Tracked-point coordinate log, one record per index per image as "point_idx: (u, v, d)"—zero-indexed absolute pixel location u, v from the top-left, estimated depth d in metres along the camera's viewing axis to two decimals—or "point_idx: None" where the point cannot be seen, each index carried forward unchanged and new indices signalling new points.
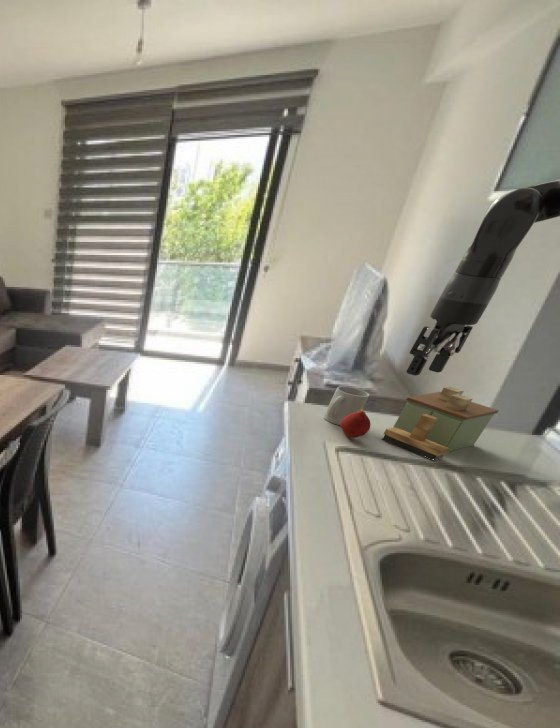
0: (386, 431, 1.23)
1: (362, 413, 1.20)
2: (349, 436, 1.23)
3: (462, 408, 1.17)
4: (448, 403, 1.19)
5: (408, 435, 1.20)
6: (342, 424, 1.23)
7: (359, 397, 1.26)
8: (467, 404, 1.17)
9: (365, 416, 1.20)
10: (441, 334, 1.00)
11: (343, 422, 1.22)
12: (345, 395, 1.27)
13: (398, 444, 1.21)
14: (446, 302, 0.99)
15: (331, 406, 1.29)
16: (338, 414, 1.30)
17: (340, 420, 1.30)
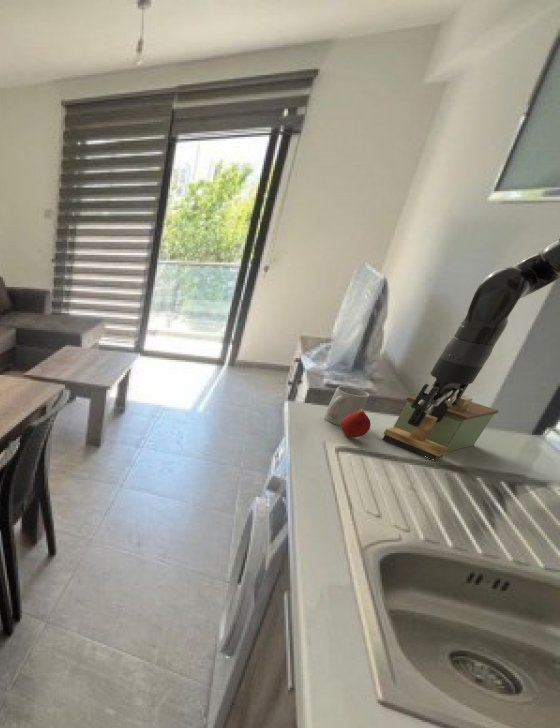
0: (386, 431, 1.23)
1: (362, 413, 1.20)
2: (349, 436, 1.23)
3: (462, 408, 1.17)
4: None
5: (408, 435, 1.20)
6: (342, 424, 1.23)
7: (359, 397, 1.26)
8: (467, 404, 1.17)
9: (365, 416, 1.20)
10: (440, 391, 1.10)
11: (343, 422, 1.22)
12: (345, 395, 1.27)
13: (398, 444, 1.21)
14: (445, 363, 1.09)
15: (331, 406, 1.29)
16: (338, 414, 1.30)
17: (340, 420, 1.30)
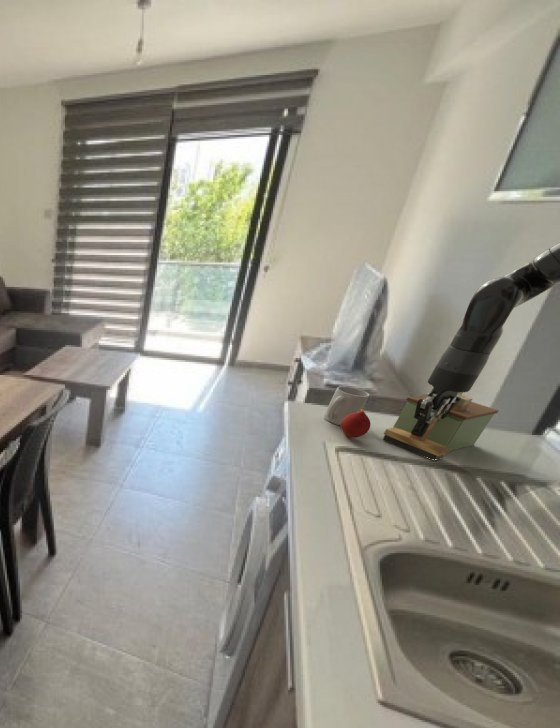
0: (386, 431, 1.23)
1: (362, 413, 1.20)
2: (349, 436, 1.23)
3: (462, 408, 1.17)
4: None
5: (408, 435, 1.20)
6: (342, 424, 1.23)
7: (359, 397, 1.26)
8: (467, 404, 1.17)
9: (365, 416, 1.20)
10: (437, 399, 1.11)
11: (343, 422, 1.22)
12: (345, 395, 1.27)
13: (398, 444, 1.21)
14: (441, 371, 1.10)
15: (331, 406, 1.29)
16: (338, 414, 1.30)
17: (340, 420, 1.30)
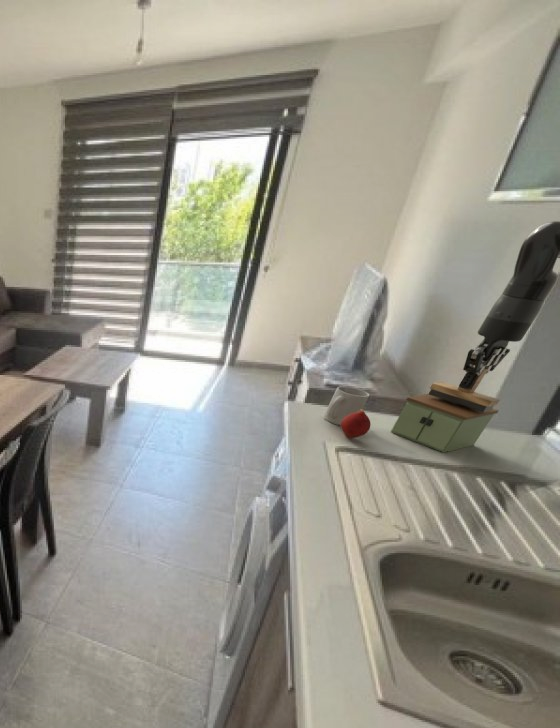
0: (433, 385, 1.23)
1: (362, 413, 1.20)
2: (349, 436, 1.23)
3: None
4: None
5: (456, 388, 1.20)
6: (342, 424, 1.23)
7: (359, 397, 1.26)
8: None
9: (365, 416, 1.20)
10: (489, 349, 1.11)
11: (343, 422, 1.22)
12: (345, 395, 1.27)
13: (445, 398, 1.21)
14: (493, 321, 1.10)
15: (331, 406, 1.29)
16: (338, 414, 1.30)
17: (340, 420, 1.30)
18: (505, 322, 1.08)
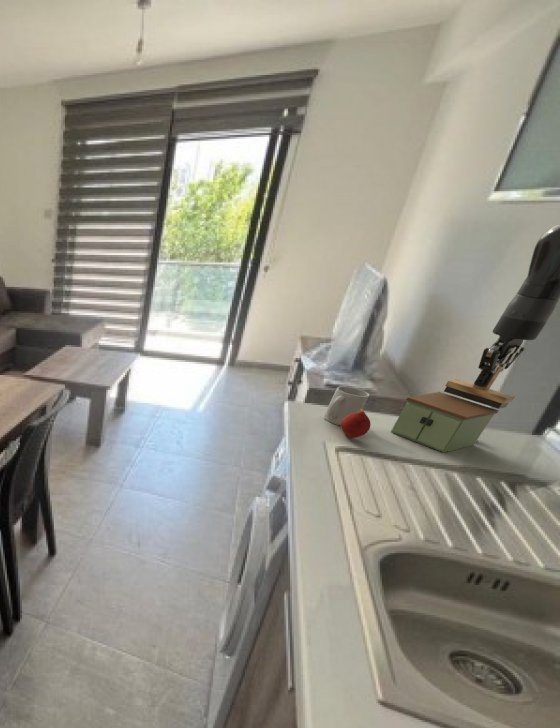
0: (448, 383, 1.25)
1: (362, 413, 1.20)
2: (349, 436, 1.23)
3: None
4: None
5: (471, 385, 1.22)
6: (342, 424, 1.23)
7: (359, 397, 1.26)
8: None
9: (365, 416, 1.20)
10: (504, 348, 1.14)
11: (343, 422, 1.22)
12: (345, 395, 1.27)
13: (461, 395, 1.23)
14: (508, 320, 1.13)
15: (331, 406, 1.29)
16: (338, 414, 1.30)
17: (340, 420, 1.30)
18: (520, 321, 1.11)
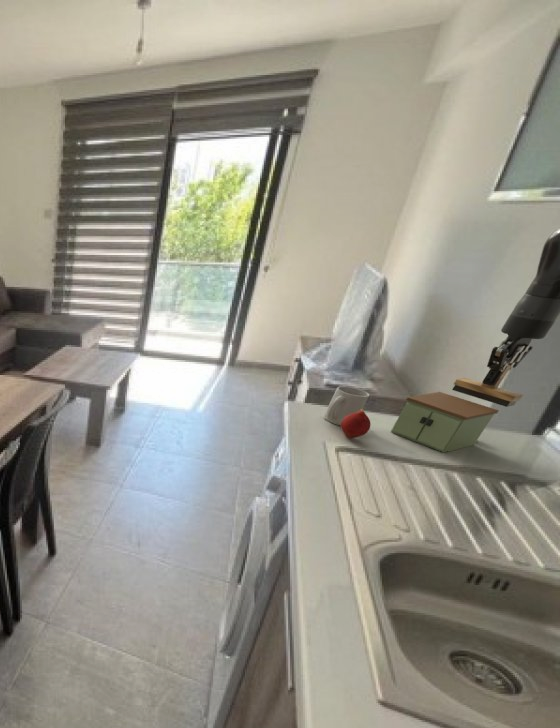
0: (457, 381, 1.27)
1: (362, 413, 1.20)
2: (349, 436, 1.23)
3: None
4: None
5: (479, 384, 1.24)
6: (342, 424, 1.23)
7: (359, 397, 1.26)
8: None
9: (365, 416, 1.20)
10: (512, 347, 1.15)
11: (343, 422, 1.22)
12: (345, 395, 1.27)
13: (469, 393, 1.25)
14: (517, 319, 1.14)
15: (331, 406, 1.29)
16: (338, 414, 1.30)
17: (340, 420, 1.30)
18: (529, 320, 1.12)
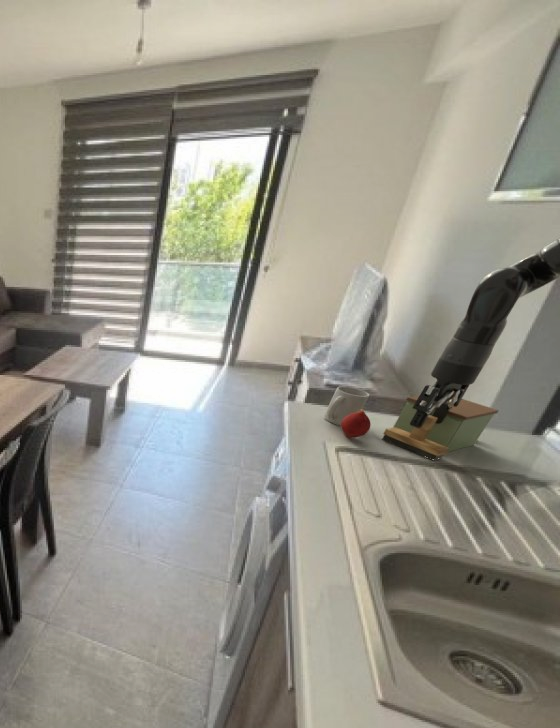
0: (386, 431, 1.23)
1: (362, 413, 1.20)
2: (349, 436, 1.23)
3: None
4: None
5: (408, 435, 1.20)
6: (342, 424, 1.23)
7: (359, 397, 1.26)
8: None
9: (365, 416, 1.20)
10: (441, 392, 1.10)
11: (343, 422, 1.22)
12: (345, 395, 1.27)
13: (398, 444, 1.21)
14: (445, 364, 1.09)
15: (331, 406, 1.29)
16: (338, 414, 1.30)
17: (340, 420, 1.30)
18: (456, 365, 1.07)
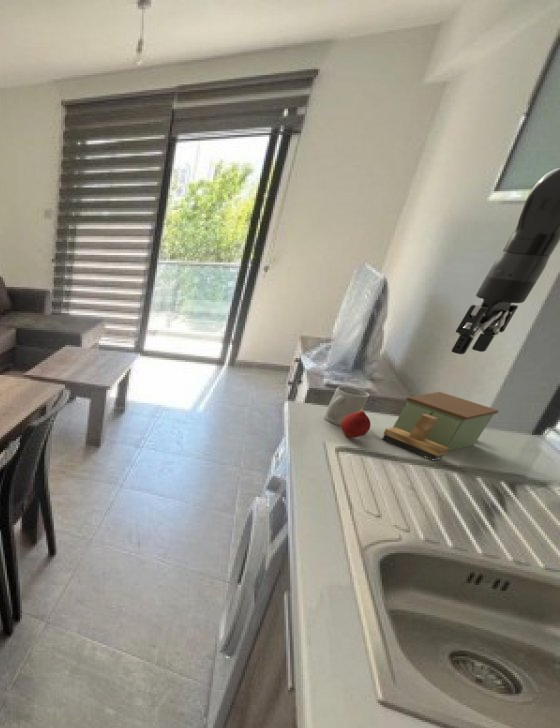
0: (386, 431, 1.23)
1: (362, 413, 1.20)
2: (349, 436, 1.23)
3: None
4: None
5: (408, 435, 1.20)
6: (342, 424, 1.23)
7: (359, 397, 1.26)
8: None
9: (365, 416, 1.20)
10: (488, 312, 1.01)
11: (343, 422, 1.22)
12: (345, 395, 1.27)
13: (398, 444, 1.21)
14: (493, 281, 1.00)
15: (331, 406, 1.29)
16: (338, 414, 1.30)
17: (340, 420, 1.30)
18: (506, 281, 0.98)
